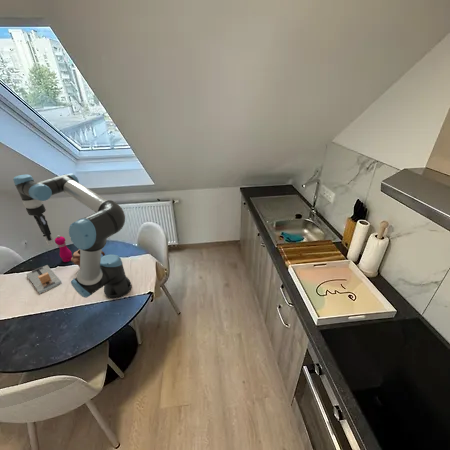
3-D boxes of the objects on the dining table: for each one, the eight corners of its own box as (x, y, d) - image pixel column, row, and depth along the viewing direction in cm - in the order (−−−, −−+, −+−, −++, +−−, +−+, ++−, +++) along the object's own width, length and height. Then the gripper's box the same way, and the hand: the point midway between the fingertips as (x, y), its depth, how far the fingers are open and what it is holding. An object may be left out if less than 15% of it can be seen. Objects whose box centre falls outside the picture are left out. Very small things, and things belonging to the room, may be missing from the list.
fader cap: (51, 279, 154) (48, 273, 152) (42, 284, 151) (39, 277, 148) (49, 278, 155) (47, 271, 153) (40, 282, 152) (37, 276, 150)
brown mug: (107, 258, 176) (102, 242, 169) (108, 268, 166) (102, 251, 159) (75, 266, 169) (69, 249, 162) (74, 277, 159) (67, 259, 152)
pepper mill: (68, 263, 172) (58, 238, 162) (59, 261, 173) (49, 237, 163) (75, 256, 178) (66, 232, 168) (67, 255, 179) (57, 232, 169)
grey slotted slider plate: (61, 283, 154) (60, 280, 153) (39, 294, 147) (38, 290, 145) (48, 267, 168) (46, 264, 167) (27, 276, 160) (25, 273, 159)
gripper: (47, 206, 124) (63, 245, 136) (38, 199, 132) (54, 237, 143) (29, 211, 119) (47, 252, 131) (21, 204, 127) (39, 243, 139)
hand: (51, 244), depth 137 cm, fingers closed
